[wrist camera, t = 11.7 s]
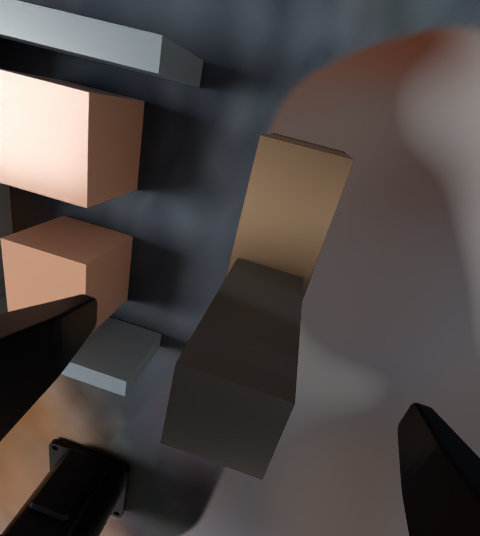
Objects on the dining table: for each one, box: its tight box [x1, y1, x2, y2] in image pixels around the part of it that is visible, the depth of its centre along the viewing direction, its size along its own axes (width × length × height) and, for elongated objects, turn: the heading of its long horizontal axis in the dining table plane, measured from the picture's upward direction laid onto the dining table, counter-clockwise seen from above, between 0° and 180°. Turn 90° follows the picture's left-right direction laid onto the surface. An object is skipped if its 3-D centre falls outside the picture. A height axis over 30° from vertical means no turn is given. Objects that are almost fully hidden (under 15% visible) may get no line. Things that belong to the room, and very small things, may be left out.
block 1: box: [0, 68, 145, 208], centre depth 14 cm, size 4×4×4 cm
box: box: [0, 0, 204, 396], centre depth 15 cm, size 15×10×4 cm
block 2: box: [1, 216, 133, 333], centre depth 16 cm, size 4×4×4 cm
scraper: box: [161, 133, 354, 479], centre depth 12 cm, size 11×3×10 cm, turn 167°
